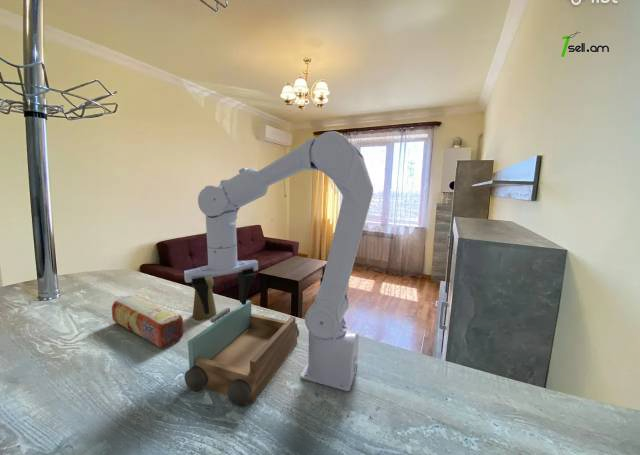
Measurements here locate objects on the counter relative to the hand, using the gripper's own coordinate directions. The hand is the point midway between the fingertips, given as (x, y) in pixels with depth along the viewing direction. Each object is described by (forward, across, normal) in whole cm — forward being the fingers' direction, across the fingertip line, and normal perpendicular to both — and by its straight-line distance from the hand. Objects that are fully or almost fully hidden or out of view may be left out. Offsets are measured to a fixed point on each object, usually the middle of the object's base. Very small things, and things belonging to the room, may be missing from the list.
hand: (225, 307), depth 57 cm
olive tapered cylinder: (+10, +1, -18) cm, 21 cm away
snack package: (+10, +14, -18) cm, 24 cm away
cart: (+10, -3, +7) cm, 12 cm away
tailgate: (+8, +1, +2) cm, 8 cm away
